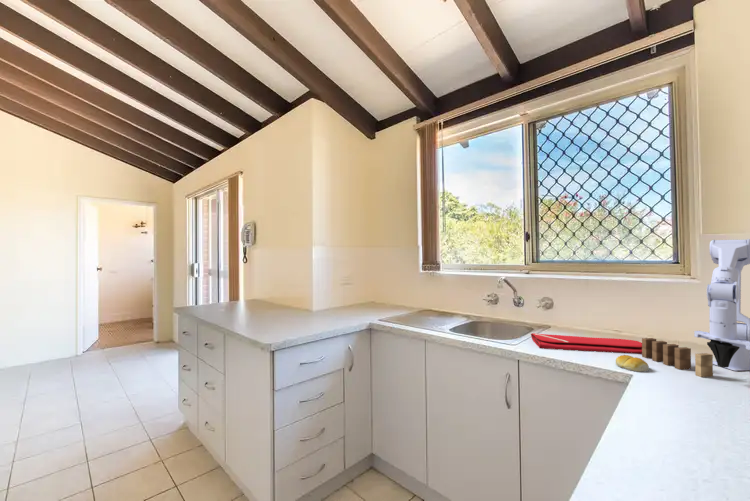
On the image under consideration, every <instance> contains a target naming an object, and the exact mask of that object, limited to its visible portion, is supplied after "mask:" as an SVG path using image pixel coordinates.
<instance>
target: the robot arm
mask: <svg viewBox="0 0 750 501" xmlns="http://www.w3.org/2000/svg"><path fill="white" fill-rule="evenodd" d="M709 255H710V257H711V260H712V262H713V264H716V265H718V267H715V268H714V269H713V270H712V275H711V281H710V284H709V283H708V284H707V286H706V298H707V306H708V307H709V332H708V331H704V330H703V331H702V330H694V331H693V332H694V338H700V339H705V340H708V342H706V344H707V346H708V347H709V348H710V350H711V352H712V355H714V358H715V360H713V365H715V366H718V367H721V368H723V369H724V368H725V369H728V370H730V371H731V370H732V371H735V372H738V371H739V372H740V371H750V317H748V316H746V315H745V314H744V313H742V312H741V308H742V307H741V304H742V302H741V301H742V300H741V298H742V294H741V293H742V271H743V269H744V266H747V265H750V238H746V239H744V238H743V239H712V240H711V241H709Z"/></svg>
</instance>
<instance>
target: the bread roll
mask: <svg viewBox="0 0 750 501" xmlns="http://www.w3.org/2000/svg"><path fill="white" fill-rule="evenodd" d="M615 365H616V366H617V367H619V368H621V369H625V370H626V371H630V372H631V371H632V372H639V373H640V372H641V373H642V372H647V371H649V369H650V366H649V364H648V363H647V362H646V361H645V360H644V359H642V358H639V357H634V356H632V355H627V354H626V355H625V354H623V355H619V356H617V357H616V359H615Z"/></svg>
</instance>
